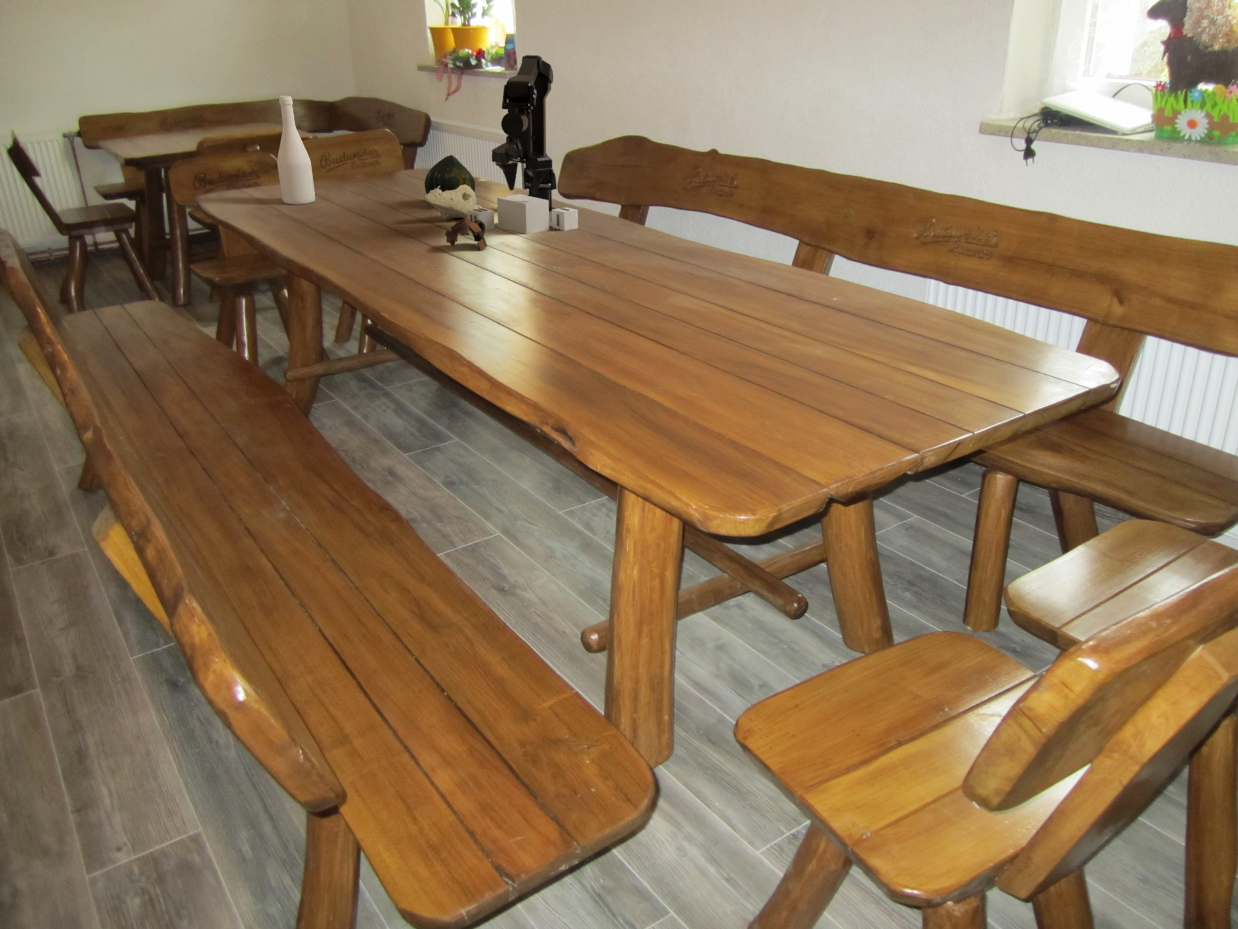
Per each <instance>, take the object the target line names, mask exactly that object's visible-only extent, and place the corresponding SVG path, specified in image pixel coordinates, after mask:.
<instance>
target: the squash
mask: <svg viewBox="0 0 1238 929" xmlns="http://www.w3.org/2000/svg"><path fill="white" fill-rule="evenodd" d="M461 185H467V186H469V187H470V188H471V189H472V190H473V191H474V193H475V194H476V192H475V191H476V183H475V179H474V177H473V175H472V173H471V172H470V171H469V170H468V168H467V167H465V166H464V165H463V163H461V162H460V161H459V159H458V158H456V157H455V156H454V155H453V154H450V155H446V156H445V157H443V158H442V159H441V160H439V161H438V162H436V163H435V164H434V165H433V166H432V167H431V168H430V169H429V171H428V172H427V174H426V176H425V179H424V189H425V190H424V191H425V194H426V195H427V194H428V193H430V190H434V189H436V188H438V187H439V186H440V187H439V188H438V189H439V190H441V191H442V192H444V191H446V190H447V191H450V190H455V189H457V188H458V187H459V186H461Z"/></svg>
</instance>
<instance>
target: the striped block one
mask: <svg viewBox="0 0 1238 929" xmlns="http://www.w3.org/2000/svg"><path fill="white" fill-rule="evenodd" d="M552 227H553V228H552ZM551 228H552V229H555V228H556V230H559V229H560V231H564V232H565V231H570V229H571V230H575V229H578V228H579V210H578V209H576V208H575V209H574V208H572V207H567V206H566V207H559V208H555V209H552V210H551Z"/></svg>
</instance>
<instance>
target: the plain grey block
mask: <svg viewBox="0 0 1238 929" xmlns="http://www.w3.org/2000/svg"><path fill="white" fill-rule="evenodd" d="M496 204H497V226H498V228H502V229H505V230H509V231H513V232H517V233H521V234H525V235H529V233H530V234H536V233H539V232H540V231H541V232H544V231H545V230H546V231H549V230H550V215H549V214H550V211H549V200H544V199H540V198H535V197H531V196H528V195H526V194H522V193H517V194H511V195H506V196H499V197H496ZM546 231H545V232H546ZM541 232H540V233H541Z"/></svg>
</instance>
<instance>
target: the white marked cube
mask: <svg viewBox="0 0 1238 929" xmlns="http://www.w3.org/2000/svg"><path fill="white" fill-rule="evenodd" d="M468 218H469V220H470V222H474V221H475V220H481V221H482V222H483V223H484V224H485V232H486V231H491V230H495V212H494V210H492V209H488V208H484V207H482V208H478V209H472V210H468Z"/></svg>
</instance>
